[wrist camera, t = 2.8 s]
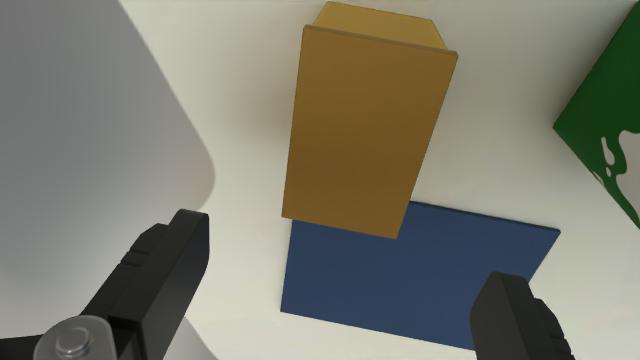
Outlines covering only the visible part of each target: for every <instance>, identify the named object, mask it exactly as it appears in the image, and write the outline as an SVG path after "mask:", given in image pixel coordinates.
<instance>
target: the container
mask: <svg viewBox="0 0 640 360" xmlns="http://www.w3.org/2000/svg"><path fill="white" fill-rule="evenodd" d="M457 59H458V54H457V53H456V52H455V51H450V50H447V48H446V46H445V44H444V42H443V40H442V38H441V36H440V35H439V33H438V31H437V29H436V27H435V25H434V23H433V21H432V20H429V19H423V18H417V17H412V16H406V15H401V14H395V13H390V12H384V11H379V10H373V9H368V8H362V7H357V6H351V5H346V4H340V3H334V2H327V3H326V5H325V6H324V8H323V10H322V11H321V13H320V14H319V16H318V17H317V19H316V20H315V22H314V23H313V25H305V26H304V28H303V35H302V43H301V52H300V61H299V69H298V78H297V87H296V95H295V104H294V112H293V121H292V130H291V138H290V147H289V155H288V164H287V173H286V181H285V190H284V199H283V207H282V217H284V218H289V219H294V220H299V221H304V222H310V223H315V224H320V225H325V226H330V227H335V228H340V229H345V230H351V231H356V232H361V233H366V234H371V235H376V236H381V237H386V238H392V239H396V238H397V235H398V233H399V230H400V227H401V224H402V221H403V218H404V215H405V212H406V209H407V206H408V203H409V200H410V197H411V194H412V191H413V189H414V186H415V183H416V180H417V177H418V174H419V171H420V168H421V165H422V162H423V159H424V156H425V153H426V150H427V147H428V145H429V142H430V139H431V136H432V133H433V130H434V127H435V124H436V121H437V118H438V115H439V112H440V109H441V106H442V103H443V101H444V98H445V95H446V92H447V89H448V86H449V83H450V80H451V77H452V74H453V71H454V68H455V65H456V62H457Z"/></svg>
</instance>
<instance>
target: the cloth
mask: <svg viewBox="0 0 640 360" xmlns="http://www.w3.org/2000/svg"><path fill="white" fill-rule="evenodd" d="M560 233H561V232H560V230H558V229H553V228H548V227H542V226H537V225H532V224H527V223H522V222H516V221H511V220H506V219H501V218H496V217H490V216H485V215H480V214H475V213H470V212H464V211H459V210H454V209H449V208H444V207H438V206H433V205H428V204H423V203H418V202H412V201H409V203H408V206H407V209H406V212H405V215H404V218H403V221H402V224H401V227H400V230H399V233H398V235H397V238H396V239H392V238H386V237H381V236H376V235H371V234H366V233H361V232H356V231H351V230H345V229H340V228H335V227H330V226H325V225H320V224H315V223H310V222H304V221H299V220H294V219H293V222H292V229H291V237H290V244H289V251H288V258H287V266H286V273H285V280H284V287H283V295H282V302H281V309H280V312H284V313H289V314H294V315H299V316H304V317H309V318H314V319H319V320H324V321H329V322H334V323H339V324H344V325H349V326H354V327H359V328H364V329H369V330H374V331H379V332H384V333H389V334H394V335H399V336H404V337H409V338H414V339H419V340H424V341H429V342H433V343H438V344H443V345H448V346H453V347H458V348H463V349H468V350H473V351H475V347H474V343H473V339H472V334H471V330H470V322H469V320H470V311H471V308H472V305H473V303H474V302H475V300H476V298H477V296H478V294H479V293H480V291H481V289H482V287H483V286H484V284H485V282H486V280H487V279H488V277H489V275H490V274H491V273H492V272H493V271H499V272H504V273H509V274H514V275H520V276H523V277H524V278H525V279H526V280H527V282H528V283H529V281H530V279H531V278H532V276H533V275H534V273H535V272H536V270H537V269H538V267H539V266H540V264H541V262H542V261H543V259H544V258H545V256H546V255H547V253H548V252H549V250H550V249H551V247H552V246H553V244H554V242H555V241H556V239H557V238H558V236H559V235H560Z"/></svg>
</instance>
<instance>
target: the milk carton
mask: <svg viewBox="0 0 640 360" xmlns="http://www.w3.org/2000/svg"><path fill="white" fill-rule="evenodd" d="M552 128H553V129H554V130H555V131H556V132H557V133H558V135H559V136H560V137H561V138H562V139H563V140H564V141H565V143H566V144H567V145H568V146H569V147H570V148H571V150H572V151H573V152H574V153H575V154H576V155H577V157H578V158H579V159H580V160H581V161H582V162H583V164H584V165H585V166H586V167H587V168H588V169H589V171H590V172H591V173H592V174H593V175H594V176H595V178H596V179H597V180H598V181H599V182H600V183H601V185H602V186H603V187H604V188H605V189H606V190H607V191H608V193H609V194H610V195H611V196H612V197H613V198H614V200H615V201H616V202H617V203H618V204H619V206H620V207H621V208H622V209H623V210H624V211H625V213H626V214H627V215H628V216H629V217H630V219H631V220H632V221H633V222H634V223H635V225H636V226H637V227H638V228H639V229H640V1H638V2H637V4H636V5H635V7H634V8H633V10H632V11H631V13H630V14H629V15H628V17H627V18H626V20H625V21H624V23H623V24H622V26H621V27H620V29H619V30H618V32H617V33H616V35H615V36H614V38H613V39H612V40H611V42H610V43H609V45H608V46H607V48H606V49H605V51H604V52H603V54H602V55H601V57H600V58H599V60H598V61H597V63H596V64H595V65H594V67H593V68H592V70H591V71H590V73H589V74H588V76H587V77H586V79H585V80H584V82H583V83H582V85H581V86H580V87H579V89H578V90H577V92H576V93H575V95H574V96H573V98H572V99H571V101H570V102H569V104H568V105H567V107H566V108H565V110H564V111H563V112H562V114H561V115H560V117H559V118H558V120H557V121H556V123H555V124H554V126H553V127H552Z"/></svg>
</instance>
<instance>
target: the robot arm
mask: <svg viewBox="0 0 640 360" xmlns="http://www.w3.org/2000/svg"><path fill="white" fill-rule="evenodd" d="M209 252H210V250H209V216H208V214H206V213H201V212H196V211H191V210H186V209H180V210H179V211H178V212H177V213H176V214H175V216H174V217H173V219H172V220H171V222H170V223H169V225H165V224H159V223H157V224H155V225H154V226H152V227H151V228H149V229H148V230H146V231H145V232H143V233H142V234H140V236H139V237H138V238H137V240H136V241H135V242H134V244H133V245H132V246H131V248H130V251H129V252H127V253H126V254H125V256H124V257H123V258H122V260H121V263H120V264H118V265H117V266H116V268H115V269H114V270H113V272H112V273H111V274H110V276H109V277H108V278H107V280H106V281H105V282H104V284H103V285H102V286H101V288H100V289H99V290H98V292H97V293H96V294H95V296H94V297H93V298H92V300H91V301H90V302H89V304H88V305H87V306H86V307H85V309H84V310H83V311H82V312H81V314H79V315H78V316H75V317H71V318H68V319H66V320H63V321H62V322H59V323H58V324H56V325H55V326H53V327H52V328H50V329H49V330H48V331H47V332H46V333H45V334H41V335H35V336H26V337H16V338H5V339H0V360H163V358H164V355H165V354H166V351H167V349H168V347H169V345H170V343H171V341H172V339H173V337H174V335H175V333H176V331H177V329H178V327H179V325H180V323H181V321H182V319H183V317H184V315H185V313H186V310H187V308H188V306H189V304H190V302H191V300H192V298H193V296H194V294H195V292H196V290H197V288H198V286H199V284H200V282H201V280H202V278H203V276H204V273H205V271H206V268H207V265H208V260H209ZM469 322H470V330H471V334H472V339H473V343H474V347H475V352H476V356H477V360H575V358H574V356H573V355H571V349H570V347H569V344H568V342H567V340H566V339H564V333H563V331H562V329H561V327H560V324H559V322H558V320H557V318H556V316H555V315H554V314H553V313H552V311H551V310H550V309H549V308H548V307H547V306H546V304H545V303H544V302H543V301H542V300H541V299H537V298H534V296H533V294H532V292H531V289H530V287H529V284H528V282H527V280H526V279H525V278H524V277H523V276H520V275H514V274H509V273H504V272H499V271H493V272H492V273H491V274H490V275H489V277H488V279H487V280H486V282H485V284H484V286H483V287H482V289H481V291H480V293H479V294H478V296H477V298H476V300H475V302H474V303H473V305H472V308H471V311H470V320H469Z"/></svg>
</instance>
